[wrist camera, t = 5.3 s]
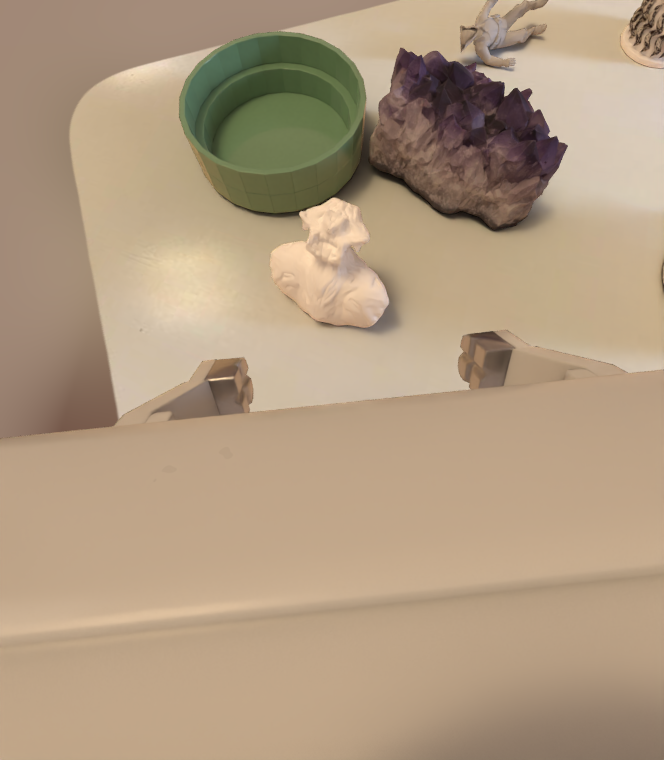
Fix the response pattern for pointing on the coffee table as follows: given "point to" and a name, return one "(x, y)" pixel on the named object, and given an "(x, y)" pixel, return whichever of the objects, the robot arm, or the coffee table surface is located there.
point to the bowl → (275, 120)
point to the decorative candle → (646, 34)
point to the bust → (331, 268)
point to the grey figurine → (499, 31)
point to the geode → (463, 140)
